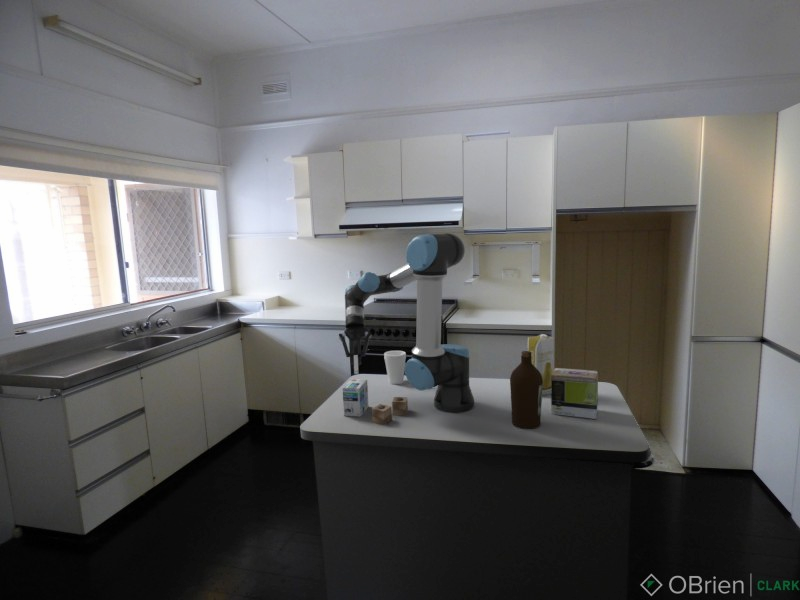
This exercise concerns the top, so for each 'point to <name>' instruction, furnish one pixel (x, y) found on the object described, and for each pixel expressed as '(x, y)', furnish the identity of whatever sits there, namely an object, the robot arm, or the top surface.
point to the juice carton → (542, 358)
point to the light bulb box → (355, 397)
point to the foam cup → (395, 366)
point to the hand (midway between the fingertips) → (356, 372)
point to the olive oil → (526, 393)
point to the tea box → (574, 392)
